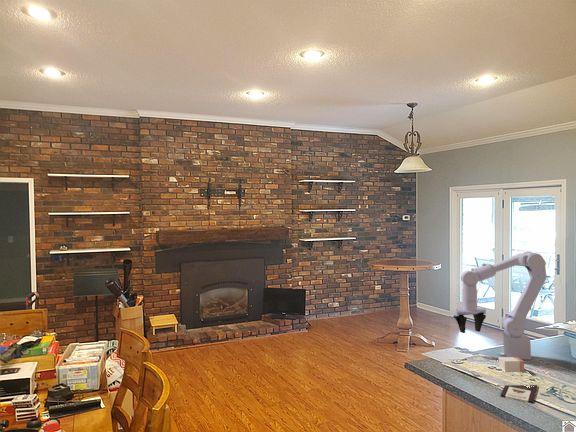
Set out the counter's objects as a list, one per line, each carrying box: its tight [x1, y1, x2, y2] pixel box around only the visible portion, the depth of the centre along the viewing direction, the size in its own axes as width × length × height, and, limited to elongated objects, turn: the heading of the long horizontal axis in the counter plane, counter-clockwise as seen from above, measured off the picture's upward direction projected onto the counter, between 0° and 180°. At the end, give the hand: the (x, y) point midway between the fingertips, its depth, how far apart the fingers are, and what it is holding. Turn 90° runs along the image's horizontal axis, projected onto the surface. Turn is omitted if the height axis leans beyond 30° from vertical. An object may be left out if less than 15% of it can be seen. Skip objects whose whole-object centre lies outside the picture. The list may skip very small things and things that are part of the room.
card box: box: [498, 356, 525, 372], centre depth 156 cm, size 4×7×4 cm, turn 90°
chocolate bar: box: [500, 384, 538, 404], centre depth 139 cm, size 9×1×18 cm
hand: (470, 331), depth 177 cm, fingers open, 7 cm apart
